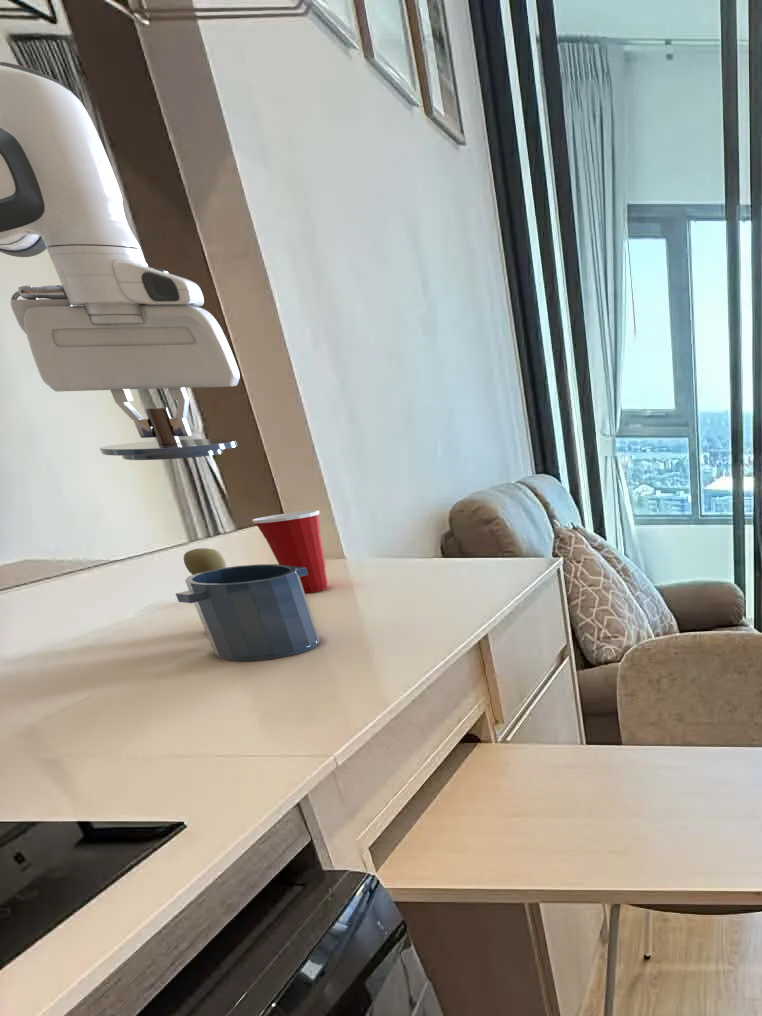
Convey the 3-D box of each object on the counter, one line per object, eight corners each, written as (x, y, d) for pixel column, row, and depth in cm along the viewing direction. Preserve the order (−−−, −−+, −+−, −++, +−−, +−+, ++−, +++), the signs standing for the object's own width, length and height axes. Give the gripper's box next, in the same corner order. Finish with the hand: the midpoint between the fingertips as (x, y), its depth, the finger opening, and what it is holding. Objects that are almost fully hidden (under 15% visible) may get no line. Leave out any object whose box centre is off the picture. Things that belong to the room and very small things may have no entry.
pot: (176, 660, 116) (143, 584, 110) (288, 627, 130) (264, 558, 124) (245, 670, 112) (215, 592, 106) (354, 635, 125) (332, 564, 119)
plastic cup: (308, 581, 157) (284, 507, 149) (355, 585, 154) (332, 508, 146) (263, 594, 149) (235, 516, 141) (311, 598, 146) (285, 518, 138)
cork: (218, 637, 126) (185, 554, 119) (203, 631, 129) (170, 550, 122) (259, 629, 129) (229, 548, 122) (243, 623, 132) (213, 544, 125)
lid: (77, 460, 100) (55, 411, 97) (187, 449, 111) (171, 405, 108) (158, 463, 95) (137, 411, 92) (265, 451, 106) (250, 404, 103)
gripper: (-11, 283, 89) (60, 442, 97) (200, 282, 93) (251, 434, 101) (14, 287, 94) (80, 438, 102) (214, 286, 98) (261, 431, 106)
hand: (167, 436), depth 102 cm, fingers closed on lid, 2 cm apart
